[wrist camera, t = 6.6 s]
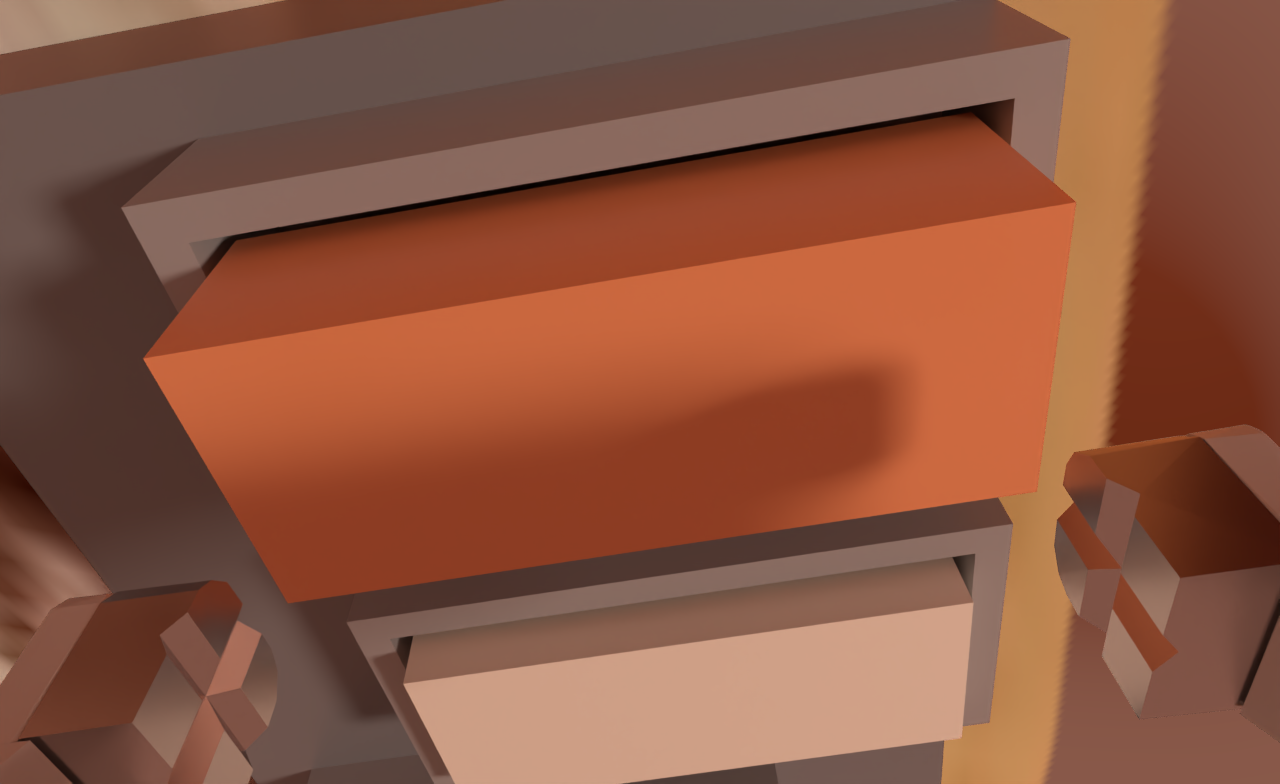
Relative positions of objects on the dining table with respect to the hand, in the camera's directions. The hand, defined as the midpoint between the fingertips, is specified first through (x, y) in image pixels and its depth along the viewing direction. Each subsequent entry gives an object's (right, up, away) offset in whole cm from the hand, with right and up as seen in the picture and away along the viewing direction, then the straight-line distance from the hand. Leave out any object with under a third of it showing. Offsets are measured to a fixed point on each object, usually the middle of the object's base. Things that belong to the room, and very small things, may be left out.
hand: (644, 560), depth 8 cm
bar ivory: (+1, -3, +10) cm, 10 cm away
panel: (-2, -2, +15) cm, 15 cm away
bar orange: (0, +3, +4) cm, 5 cm away
